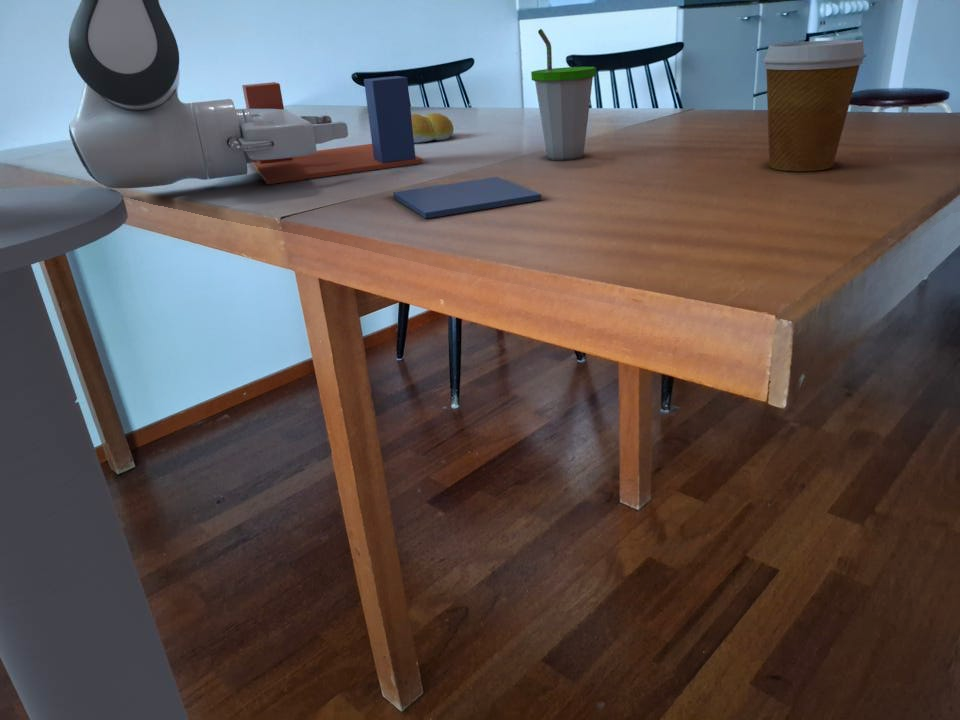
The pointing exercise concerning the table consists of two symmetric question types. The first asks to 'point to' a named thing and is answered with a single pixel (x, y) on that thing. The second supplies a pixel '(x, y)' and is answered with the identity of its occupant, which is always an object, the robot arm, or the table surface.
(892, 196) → the table surface
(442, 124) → the bread roll
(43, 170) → the table surface
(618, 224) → the table surface
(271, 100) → the red block
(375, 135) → the blue block
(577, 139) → the cup
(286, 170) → the red mat
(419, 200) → the blue mat
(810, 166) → the disposable coffee cup
